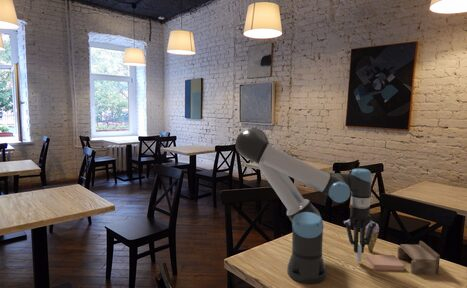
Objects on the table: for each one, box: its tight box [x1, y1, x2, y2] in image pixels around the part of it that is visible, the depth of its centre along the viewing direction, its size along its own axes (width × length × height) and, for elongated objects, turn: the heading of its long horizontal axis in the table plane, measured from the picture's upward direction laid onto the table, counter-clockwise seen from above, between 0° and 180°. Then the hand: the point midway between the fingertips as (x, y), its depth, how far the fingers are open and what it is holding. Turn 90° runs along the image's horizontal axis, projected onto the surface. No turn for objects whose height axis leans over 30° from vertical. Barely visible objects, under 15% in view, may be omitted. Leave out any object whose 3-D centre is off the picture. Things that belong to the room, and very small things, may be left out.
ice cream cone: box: [365, 223, 380, 253], centre depth 141 cm, size 7×6×15 cm
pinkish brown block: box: [365, 254, 406, 271], centre depth 129 cm, size 12×9×2 cm
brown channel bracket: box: [396, 240, 441, 276], centre depth 128 cm, size 10×13×8 cm
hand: (358, 259), depth 130 cm, fingers closed
